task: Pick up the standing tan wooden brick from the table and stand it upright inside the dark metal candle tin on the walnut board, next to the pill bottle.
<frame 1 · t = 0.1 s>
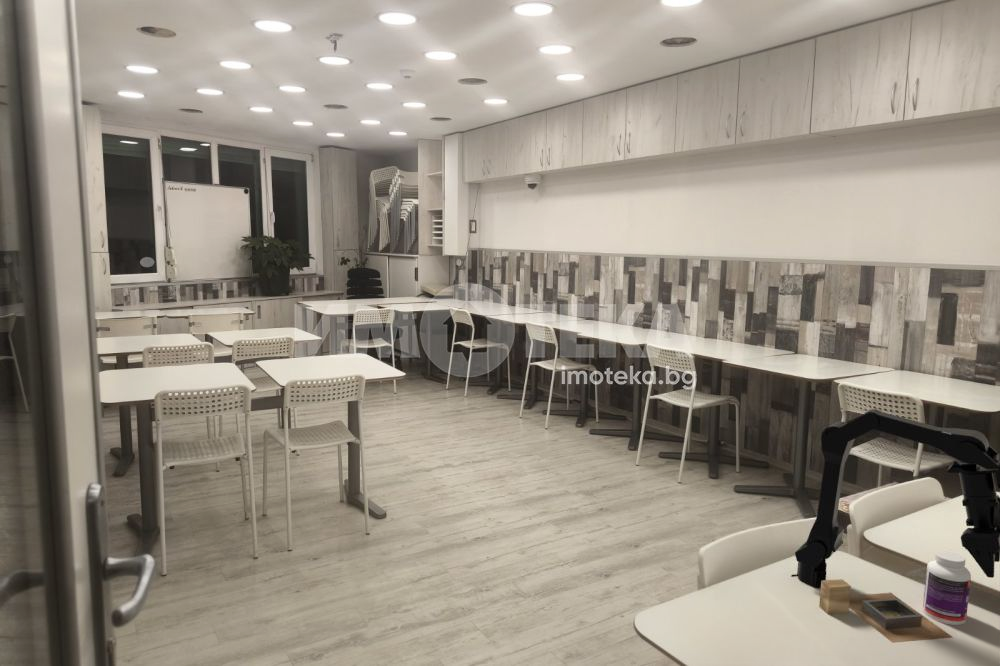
hand: (993, 569, 141), 15 cm above the table, tool pointing down, fingers open, 9 cm apart
board: (891, 619, 150), on the table
tan wooden brick: (833, 613, 152), on the table
pill bottle: (943, 618, 151), on the table
tin: (890, 618, 148), resting on board
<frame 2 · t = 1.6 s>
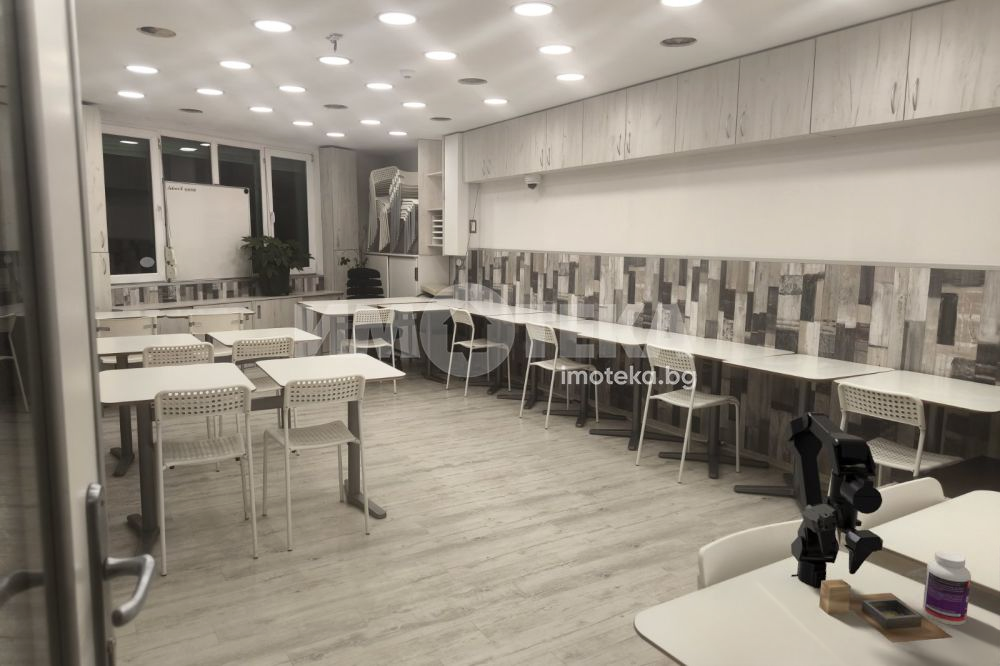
hand: (838, 563, 150), 11 cm above the table, tool pointing down, fingers open, 9 cm apart
nothing on the table moved.
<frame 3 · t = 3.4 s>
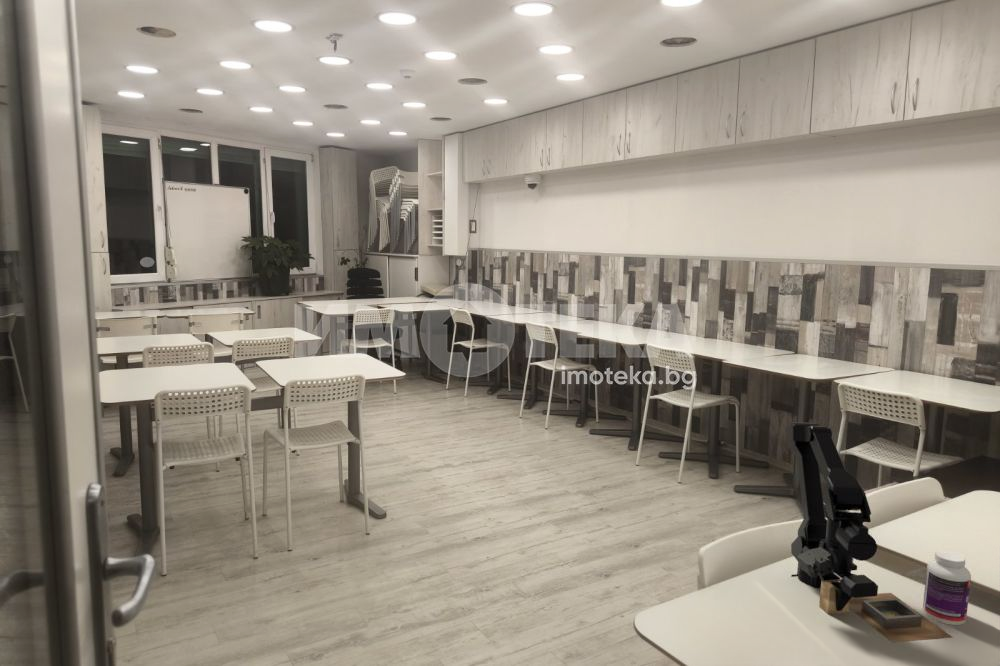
hand: (833, 606, 152), 2 cm above the table, tool pointing down, fingers closed on tan wooden brick, 3 cm apart
tan wooden brick: (833, 612, 152), on the table, touching gripper
everything else where it was.
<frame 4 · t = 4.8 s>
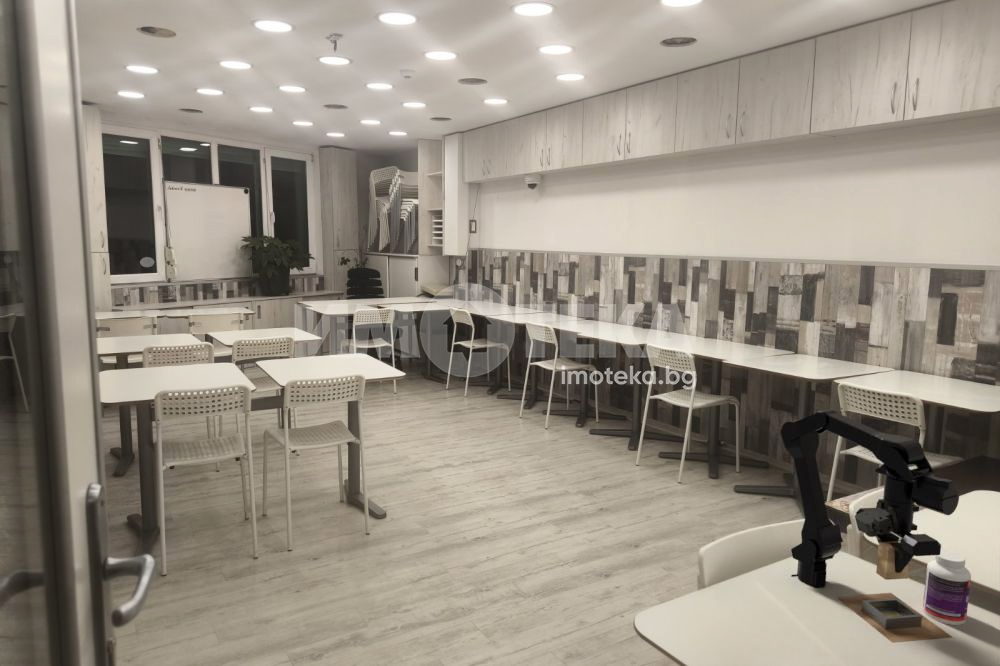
hand: (892, 568, 147), 12 cm above the table, tool pointing down, fingers closed on tan wooden brick, 3 cm apart
tan wooden brick: (891, 575, 147), point 11 cm above the table, touching gripper
everything else where it was.
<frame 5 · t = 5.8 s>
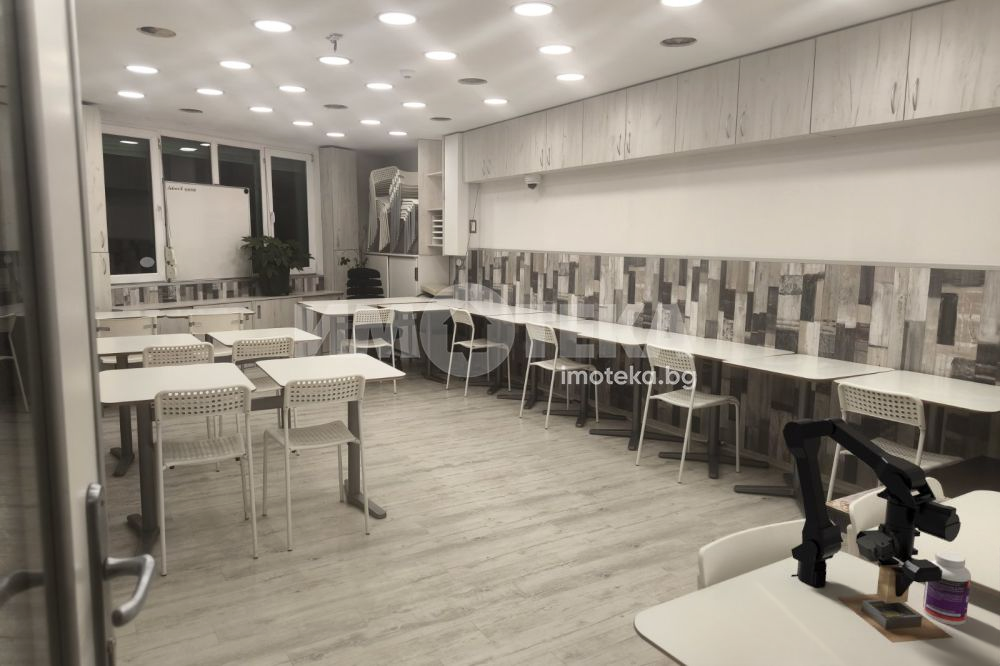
hand: (892, 592, 148), 7 cm above the table, tool pointing down, fingers closed on tan wooden brick, 3 cm apart
tan wooden brick: (891, 599, 148), point 5 cm above the table, touching gripper
everything else where it was.
when the fingers open (4 cm above the table, at t = 6.6 s): tan wooden brick drops 1 cm, resting on tin.
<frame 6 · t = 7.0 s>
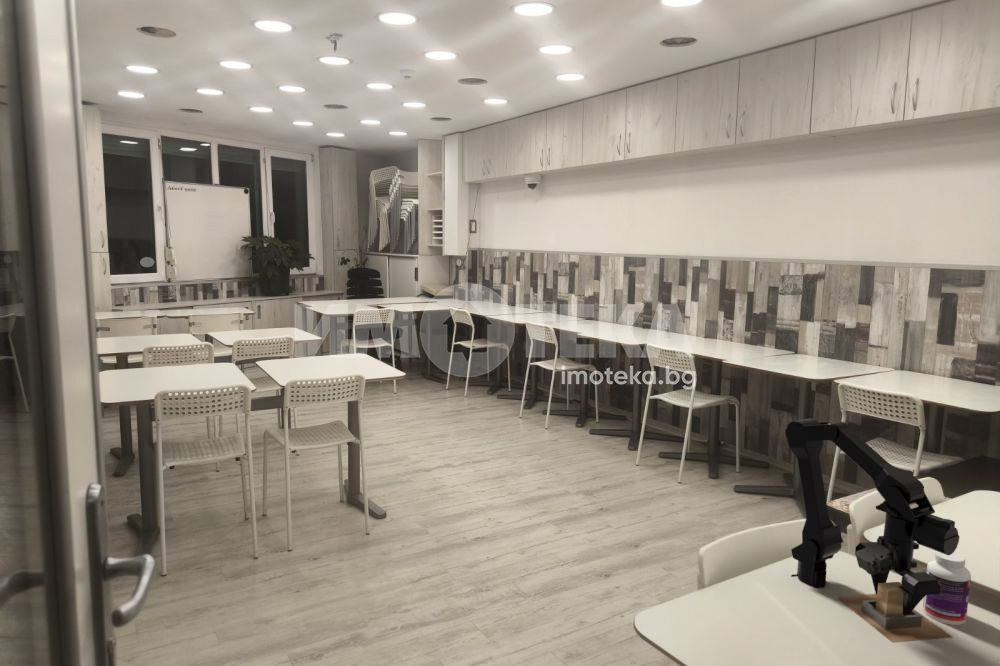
hand: (891, 604, 148), 4 cm above the table, tool pointing down, fingers open, 8 cm apart
tan wooden brick: (890, 616, 148), point 1 cm above the table, touching tin
everything else where it was.
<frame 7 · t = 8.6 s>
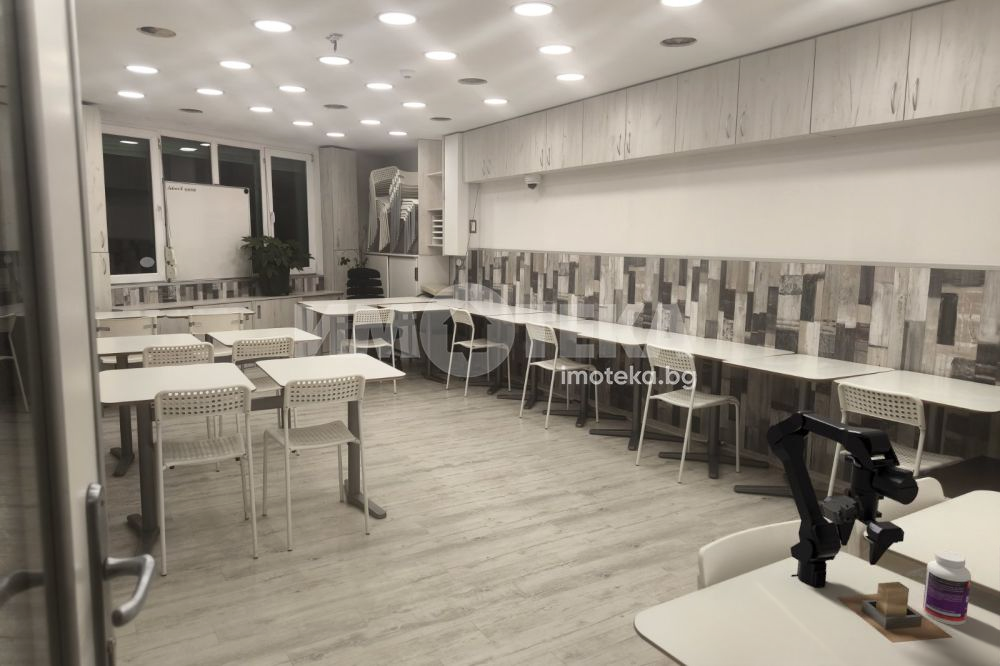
hand: (857, 554, 152), 13 cm above the table, tool pointing down, fingers open, 9 cm apart
nothing on the table moved.
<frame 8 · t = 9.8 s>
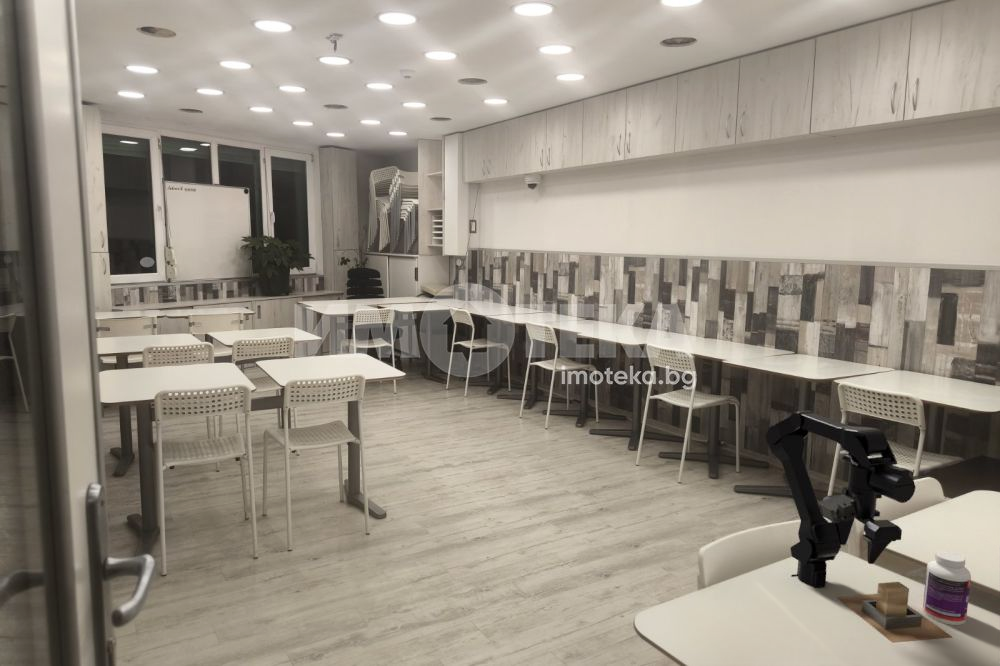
hand: (856, 553, 152), 13 cm above the table, tool pointing down, fingers open, 9 cm apart
nothing on the table moved.
at the end: tan wooden brick 0.1 cm off-centre on the tin, point 0.5 cm above the tin's base; tan wooden brick tilted 0°; the gripper is holding nothing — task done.
